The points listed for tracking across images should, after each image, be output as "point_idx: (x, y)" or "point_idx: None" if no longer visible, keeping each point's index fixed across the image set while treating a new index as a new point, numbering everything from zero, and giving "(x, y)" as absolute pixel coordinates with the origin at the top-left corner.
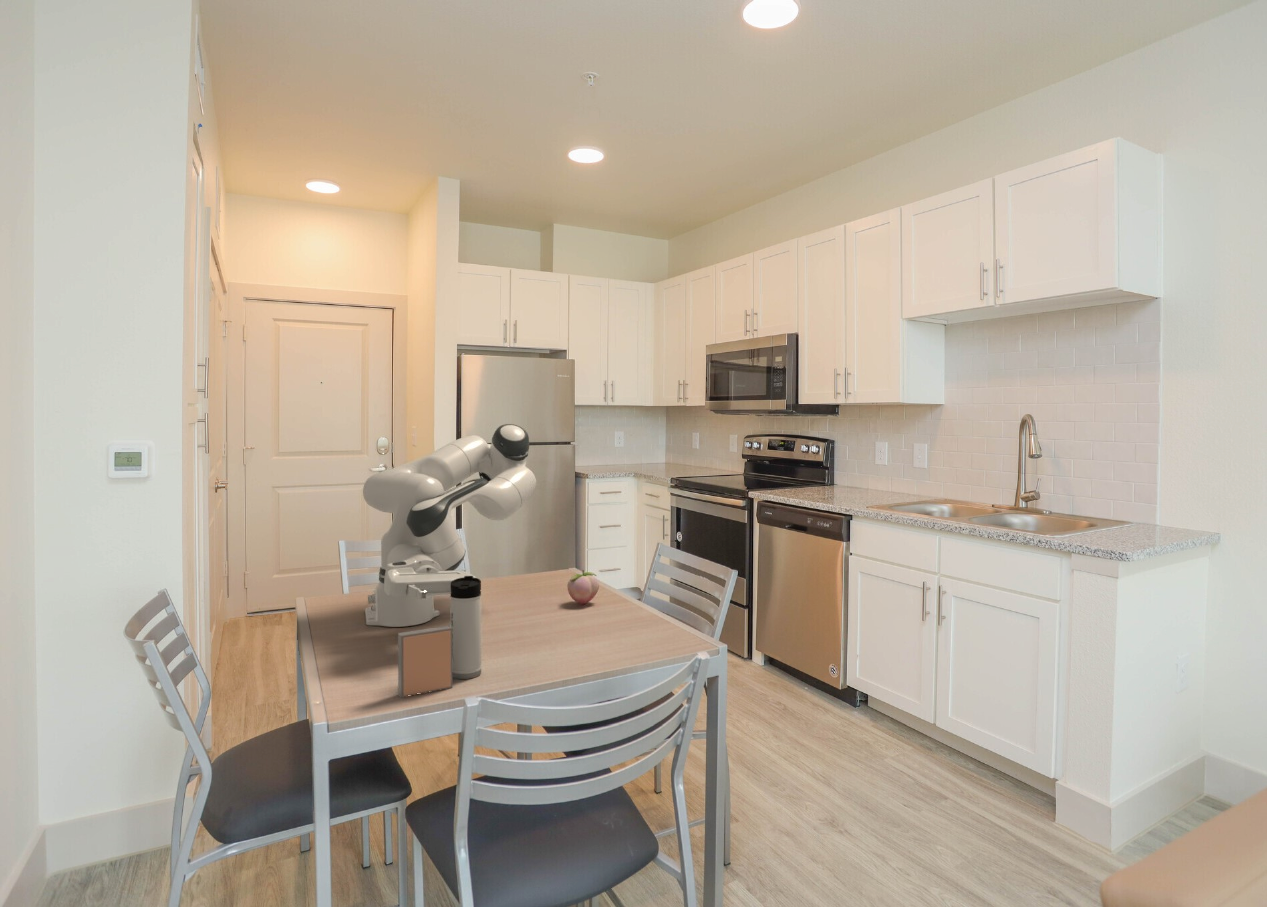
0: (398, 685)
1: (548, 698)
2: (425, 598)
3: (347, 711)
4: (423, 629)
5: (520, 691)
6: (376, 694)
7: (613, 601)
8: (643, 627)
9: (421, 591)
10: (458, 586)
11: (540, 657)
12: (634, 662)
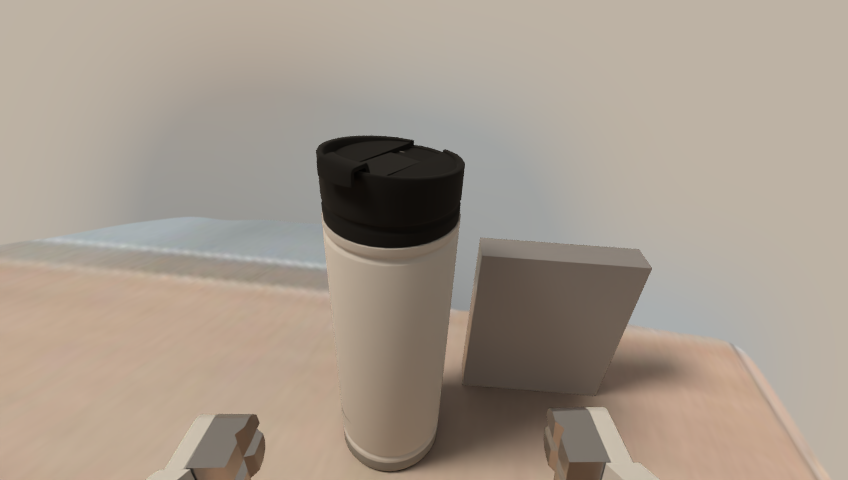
0: (601, 378)
1: None
2: (545, 445)
3: (706, 370)
4: (567, 262)
5: None
6: (655, 427)
7: None
8: None
9: (591, 411)
10: (441, 153)
11: (121, 423)
12: (57, 276)
